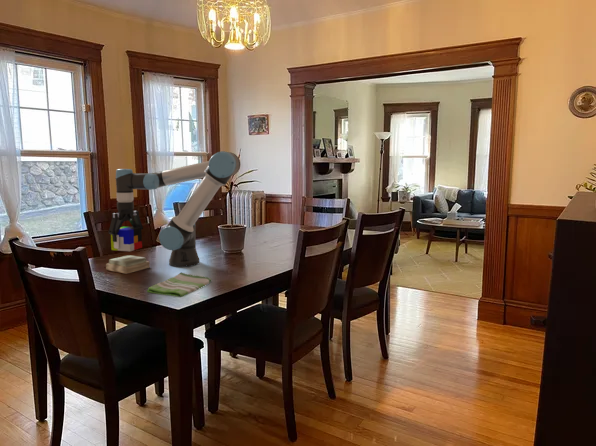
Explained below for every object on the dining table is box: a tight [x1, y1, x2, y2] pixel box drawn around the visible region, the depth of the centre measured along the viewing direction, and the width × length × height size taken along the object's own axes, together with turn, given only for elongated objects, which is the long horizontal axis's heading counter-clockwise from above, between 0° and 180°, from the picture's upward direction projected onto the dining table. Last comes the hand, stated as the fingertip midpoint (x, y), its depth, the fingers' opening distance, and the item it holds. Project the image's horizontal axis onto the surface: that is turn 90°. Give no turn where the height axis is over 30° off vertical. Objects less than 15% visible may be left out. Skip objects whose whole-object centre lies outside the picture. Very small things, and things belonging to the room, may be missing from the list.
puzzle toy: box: [110, 225, 143, 252], centre depth 212 cm, size 10×10×10 cm
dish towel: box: [146, 272, 212, 298], centre depth 185 cm, size 17×23×4 cm
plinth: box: [105, 254, 150, 274], centre depth 214 cm, size 14×14×5 cm
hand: (126, 246), depth 213 cm, fingers closed on puzzle toy, 11 cm apart
